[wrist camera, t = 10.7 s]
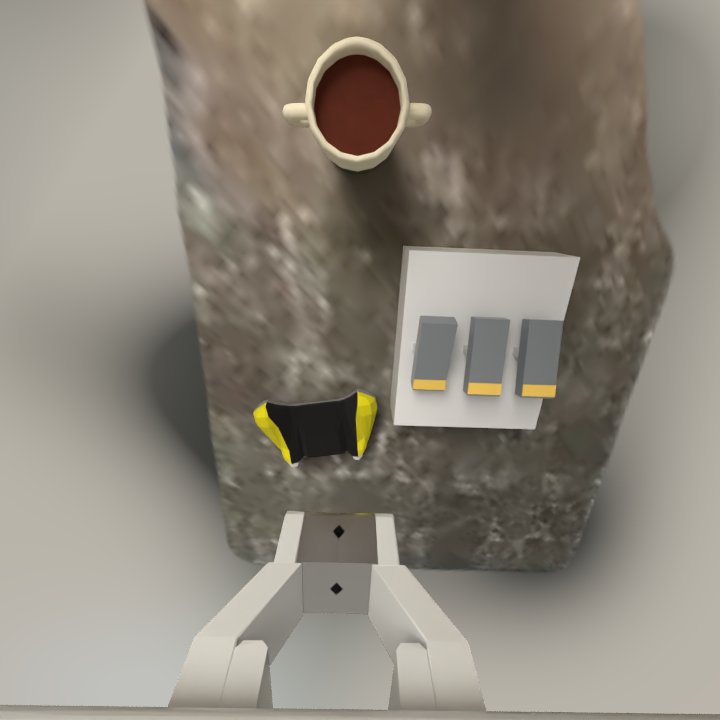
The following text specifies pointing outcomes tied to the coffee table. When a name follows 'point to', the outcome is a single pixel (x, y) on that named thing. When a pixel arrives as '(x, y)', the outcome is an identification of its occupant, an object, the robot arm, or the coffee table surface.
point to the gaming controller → (319, 425)
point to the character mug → (357, 104)
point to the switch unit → (462, 300)
